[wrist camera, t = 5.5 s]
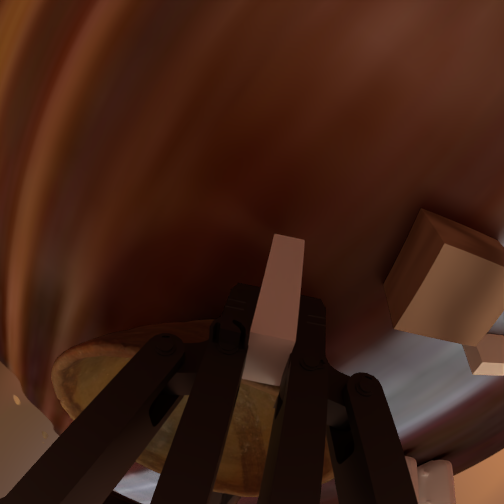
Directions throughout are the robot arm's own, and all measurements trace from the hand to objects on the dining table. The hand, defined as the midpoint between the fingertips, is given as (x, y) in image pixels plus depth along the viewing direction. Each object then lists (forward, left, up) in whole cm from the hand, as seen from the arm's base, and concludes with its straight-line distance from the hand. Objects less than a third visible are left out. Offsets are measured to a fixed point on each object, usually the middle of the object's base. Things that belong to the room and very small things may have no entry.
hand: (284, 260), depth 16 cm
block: (+11, 0, -4) cm, 12 cm away
